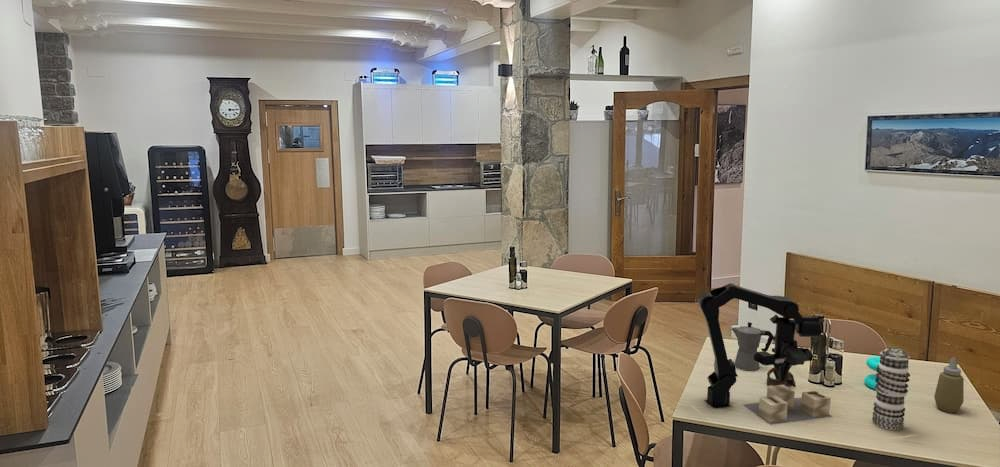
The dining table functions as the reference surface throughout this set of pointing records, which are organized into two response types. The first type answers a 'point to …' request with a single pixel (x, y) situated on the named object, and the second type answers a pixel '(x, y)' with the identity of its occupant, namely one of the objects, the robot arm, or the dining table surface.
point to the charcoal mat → (792, 414)
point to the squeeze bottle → (950, 388)
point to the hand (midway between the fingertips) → (781, 380)
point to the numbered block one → (773, 409)
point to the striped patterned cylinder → (891, 389)
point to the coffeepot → (749, 346)
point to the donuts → (871, 379)
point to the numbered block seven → (815, 403)
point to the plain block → (782, 394)
